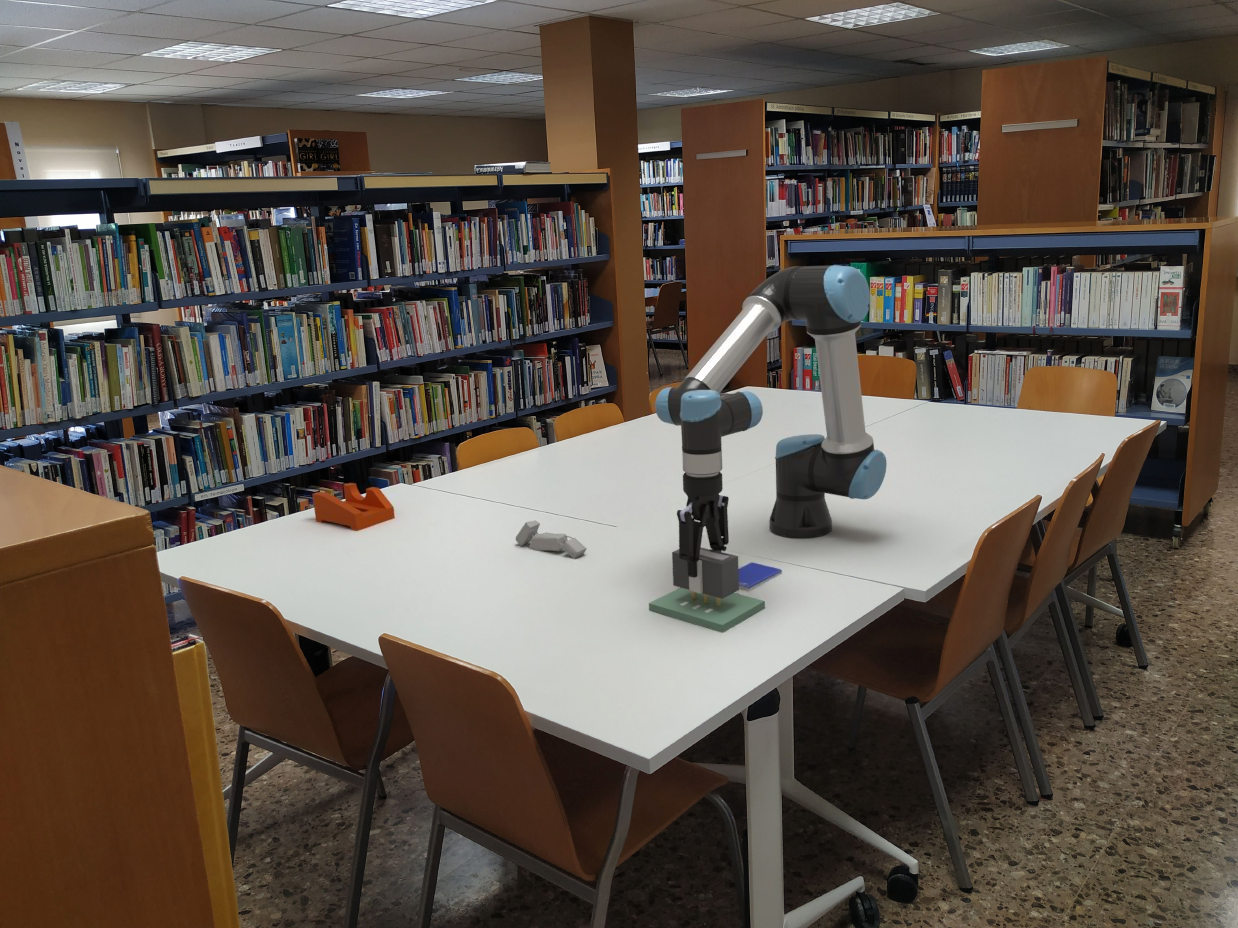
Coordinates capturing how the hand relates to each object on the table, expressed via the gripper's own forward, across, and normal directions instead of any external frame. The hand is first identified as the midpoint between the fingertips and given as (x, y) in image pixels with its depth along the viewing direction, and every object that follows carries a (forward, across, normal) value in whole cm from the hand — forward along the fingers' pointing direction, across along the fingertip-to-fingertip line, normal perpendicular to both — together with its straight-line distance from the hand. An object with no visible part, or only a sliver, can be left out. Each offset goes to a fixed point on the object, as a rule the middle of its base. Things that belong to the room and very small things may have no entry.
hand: (705, 586), depth 183 cm
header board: (+5, 0, 0) cm, 5 cm away
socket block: (0, 0, 0) cm, 0 cm away
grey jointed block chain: (+5, -7, -52) cm, 53 cm away
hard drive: (+6, -19, -3) cm, 20 cm away
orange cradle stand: (+6, +6, -116) cm, 117 cm away
